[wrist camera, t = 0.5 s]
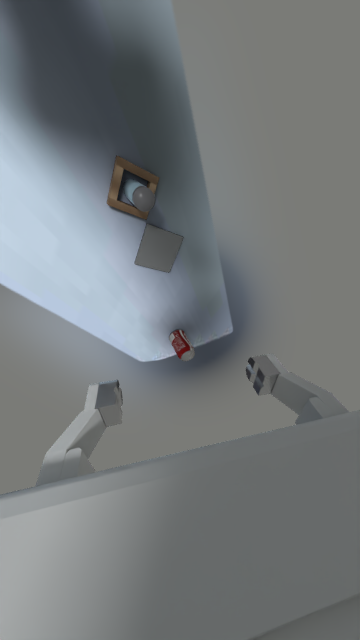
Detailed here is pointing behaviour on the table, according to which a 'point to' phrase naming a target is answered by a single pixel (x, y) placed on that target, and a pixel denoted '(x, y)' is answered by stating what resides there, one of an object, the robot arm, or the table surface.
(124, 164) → the walnut dock
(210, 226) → the table surface
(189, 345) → the soda can
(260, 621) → the robot arm
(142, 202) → the cylinder
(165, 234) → the grey mat
